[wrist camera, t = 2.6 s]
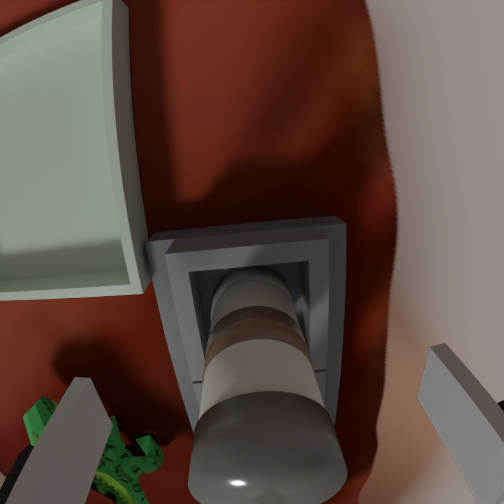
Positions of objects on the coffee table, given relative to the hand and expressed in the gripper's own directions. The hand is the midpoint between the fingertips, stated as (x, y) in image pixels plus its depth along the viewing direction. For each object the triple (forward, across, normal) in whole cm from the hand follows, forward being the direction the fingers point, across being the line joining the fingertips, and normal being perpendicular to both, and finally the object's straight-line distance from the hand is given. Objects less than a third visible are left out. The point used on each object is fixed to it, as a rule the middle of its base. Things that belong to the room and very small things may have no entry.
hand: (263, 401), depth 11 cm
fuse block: (+10, 0, -4) cm, 11 cm away
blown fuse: (+8, 0, 0) cm, 8 cm away
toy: (+10, -14, -14) cm, 22 cm away
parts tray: (+10, -13, +10) cm, 19 cm away
